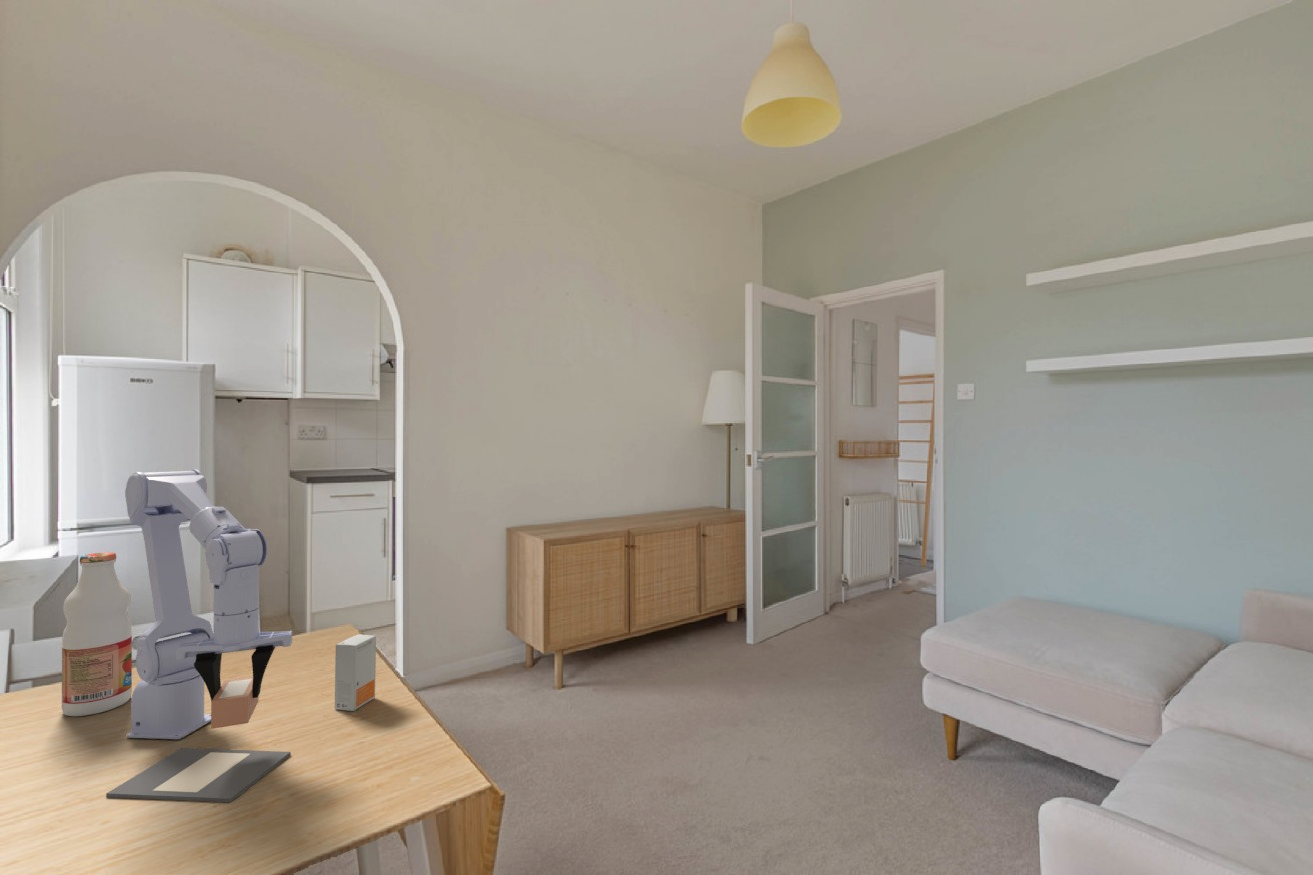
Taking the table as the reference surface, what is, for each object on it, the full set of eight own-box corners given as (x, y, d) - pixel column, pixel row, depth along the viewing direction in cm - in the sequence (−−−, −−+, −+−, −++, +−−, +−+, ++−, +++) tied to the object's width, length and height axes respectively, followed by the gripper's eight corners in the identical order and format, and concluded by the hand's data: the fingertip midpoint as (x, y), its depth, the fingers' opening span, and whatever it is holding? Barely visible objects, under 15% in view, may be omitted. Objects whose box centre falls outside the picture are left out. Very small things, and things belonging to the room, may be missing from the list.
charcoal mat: (106, 796, 81) (106, 792, 81) (181, 751, 93) (181, 747, 93) (230, 802, 80) (230, 798, 80) (290, 754, 92) (290, 751, 92)
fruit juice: (50, 711, 107) (51, 557, 107) (115, 691, 115) (115, 548, 115) (78, 721, 103) (78, 561, 103) (142, 699, 112) (143, 551, 112)
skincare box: (354, 712, 107) (354, 645, 107) (334, 709, 108) (334, 644, 108) (376, 697, 113) (377, 635, 113) (357, 695, 114) (357, 633, 114)
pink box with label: (224, 705, 93) (224, 680, 93) (258, 700, 95) (258, 675, 95) (211, 728, 86) (211, 701, 86) (247, 722, 88) (248, 695, 88)
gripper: (169, 623, 85) (168, 718, 85) (287, 611, 91) (287, 700, 91) (184, 610, 91) (184, 698, 91) (294, 599, 97) (293, 682, 97)
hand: (236, 698), depth 91 cm, fingers closed on pink box with label, 4 cm apart
